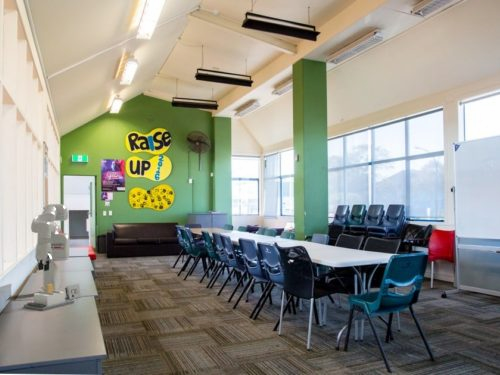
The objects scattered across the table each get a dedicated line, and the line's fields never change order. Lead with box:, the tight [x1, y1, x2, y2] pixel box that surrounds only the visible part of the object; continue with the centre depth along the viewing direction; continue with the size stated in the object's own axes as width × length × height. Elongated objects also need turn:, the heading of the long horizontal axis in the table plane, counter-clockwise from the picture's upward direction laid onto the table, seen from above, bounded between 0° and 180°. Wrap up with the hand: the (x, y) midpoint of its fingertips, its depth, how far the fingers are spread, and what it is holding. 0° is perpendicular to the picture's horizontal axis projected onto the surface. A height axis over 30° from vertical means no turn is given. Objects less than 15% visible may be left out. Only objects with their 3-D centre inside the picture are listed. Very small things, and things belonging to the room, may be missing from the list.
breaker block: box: [23, 290, 75, 312], centre depth 252 cm, size 19×21×9 cm
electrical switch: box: [64, 283, 82, 300], centre depth 270 cm, size 9×5×9 cm, turn 152°
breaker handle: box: [46, 284, 53, 292], centre depth 252 cm, size 2×3×5 cm, turn 152°
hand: (43, 269), depth 256 cm, fingers open, 4 cm apart
